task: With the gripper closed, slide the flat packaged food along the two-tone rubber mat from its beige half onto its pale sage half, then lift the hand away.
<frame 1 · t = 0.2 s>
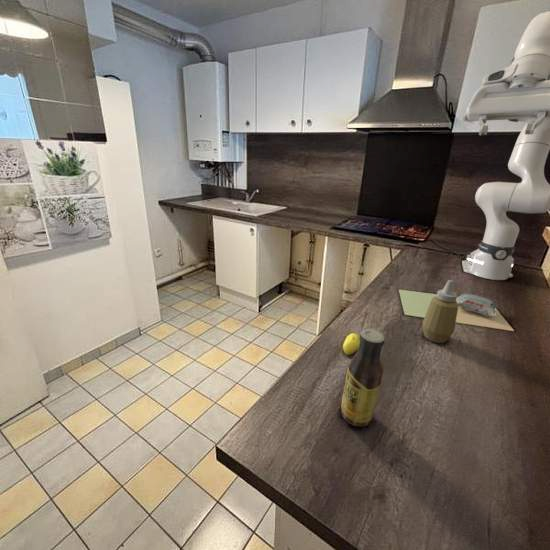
hand: (504, 133, 72), 54 cm above the worktop, tool tilted 30°, fingers open, 8 cm apart
packaged food: (473, 311, 99), resting on mat
mat: (450, 308, 100), on the worktop
sauce bottle: (356, 417, 58), on the worktop
lemon: (351, 349, 78), on the worktop
squeeze bottle: (434, 338, 84), on the worktop
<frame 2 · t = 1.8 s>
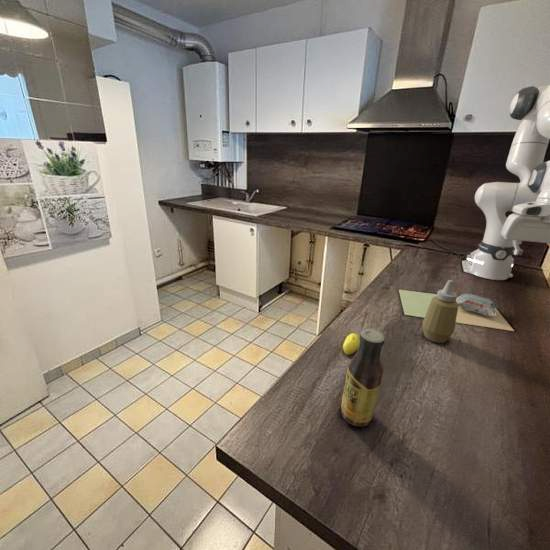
hand: (536, 257, 86), 21 cm above the worktop, tool pointing down, fingers open, 8 cm apart
nothing on the worktop moved.
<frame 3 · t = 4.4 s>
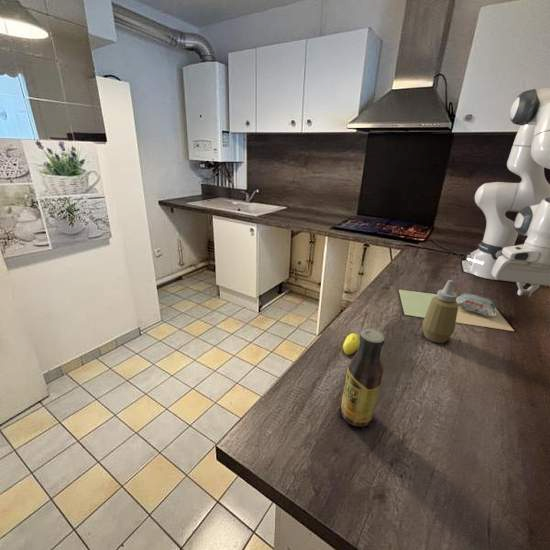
hand: (523, 295, 92), 8 cm above the worktop, tool pointing down, fingers closed
nothing on the worktop moved.
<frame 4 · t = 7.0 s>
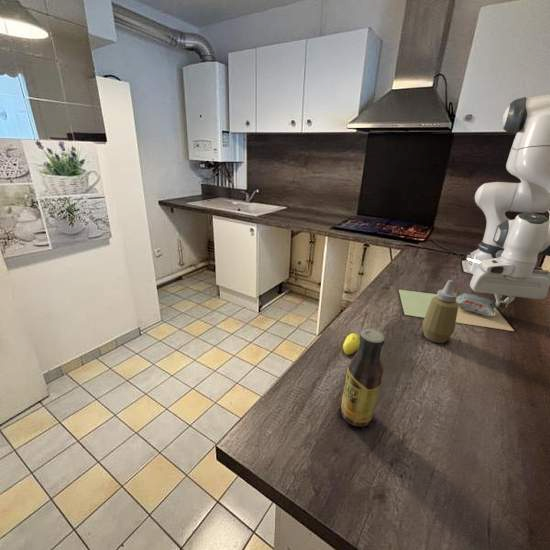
hand: (500, 306, 95), 3 cm above the worktop, tool pointing down, fingers closed
packaged food: (473, 311, 99), resting on mat, touching gripper
everything else where it was.
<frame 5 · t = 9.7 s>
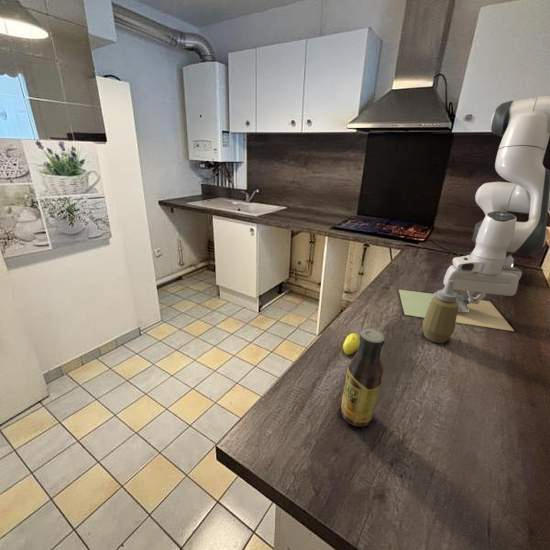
hand: (473, 302, 97), 3 cm above the worktop, tool pointing down, fingers closed
packaged food: (447, 308, 100), resting on mat, touching gripper
everything else where it was.
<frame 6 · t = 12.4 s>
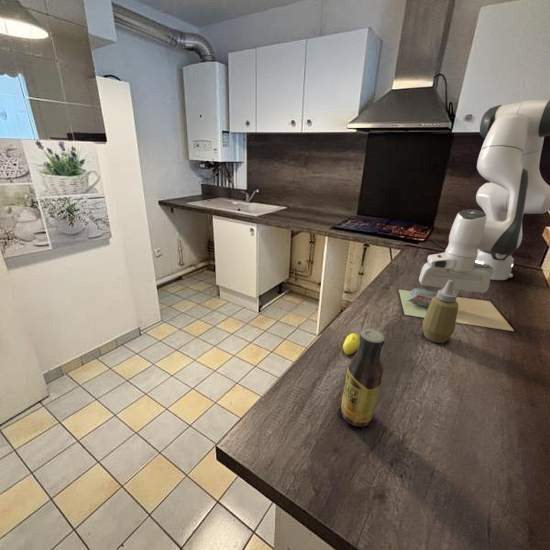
hand: (447, 299, 99), 3 cm above the worktop, tool pointing down, fingers closed
packaged food: (424, 305, 102), resting on mat, touching gripper
everything else where it was.
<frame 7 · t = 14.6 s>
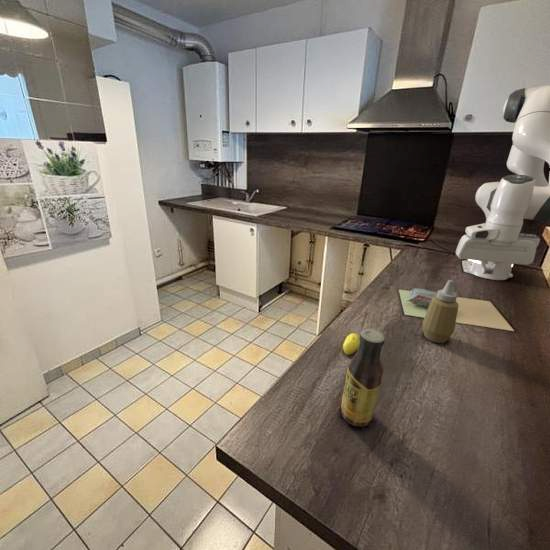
hand: (487, 273, 93), 14 cm above the worktop, tool pointing down, fingers closed
packaged food: (424, 305, 102), resting on mat
everything else where it was.
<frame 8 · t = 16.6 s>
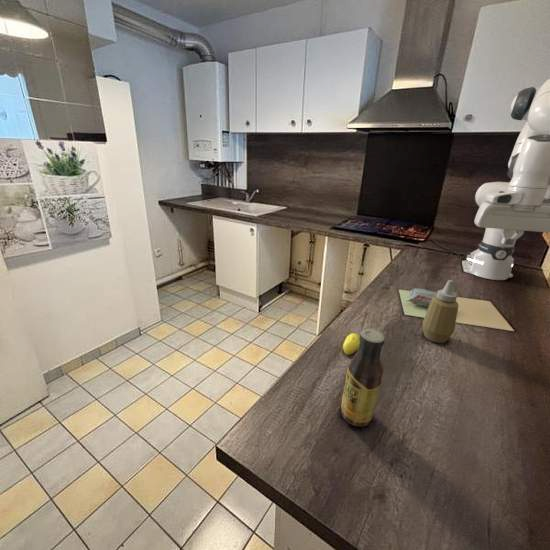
hand: (507, 243, 88), 24 cm above the worktop, tool pointing down, fingers closed
nothing on the worktop moved.
at the end: packaged food inside the target area (0.5 cm from its centre), resting on mat; packaged food moved 15.6 cm from its start; packaged food tilted 0° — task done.
